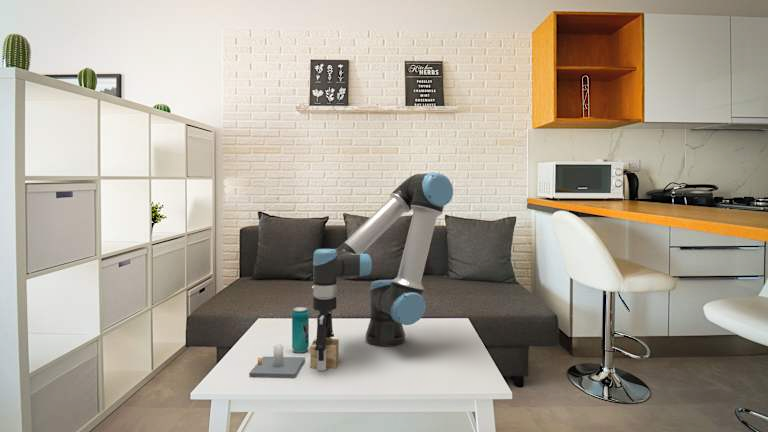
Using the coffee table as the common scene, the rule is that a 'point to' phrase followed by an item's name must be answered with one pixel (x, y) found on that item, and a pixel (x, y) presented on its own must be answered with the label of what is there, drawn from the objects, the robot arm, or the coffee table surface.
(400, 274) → the robot arm
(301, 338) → the beverage can
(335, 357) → the wooden square frame
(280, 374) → the post base
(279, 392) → the coffee table surface
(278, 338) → the coffee table surface
